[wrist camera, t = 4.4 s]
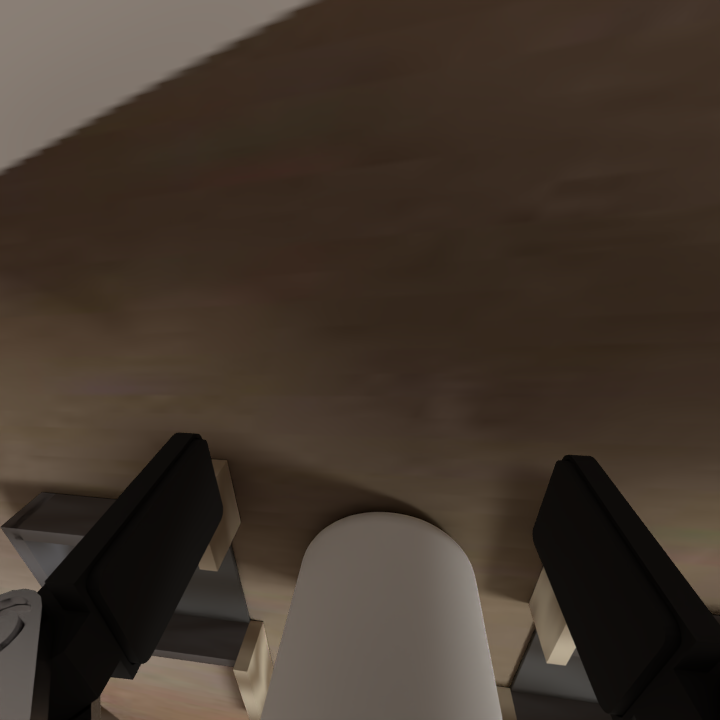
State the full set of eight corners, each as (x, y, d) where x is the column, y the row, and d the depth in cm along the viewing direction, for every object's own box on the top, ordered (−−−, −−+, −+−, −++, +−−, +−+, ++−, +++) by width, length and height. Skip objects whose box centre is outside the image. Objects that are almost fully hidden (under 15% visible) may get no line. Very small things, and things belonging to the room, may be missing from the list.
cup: (288, 503, 20) (197, 759, 11) (467, 495, 18) (532, 793, 9) (326, 604, 24) (282, 848, 15) (473, 606, 22) (522, 883, 13)
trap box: (12, 442, 20) (-47, 482, 17) (870, 513, 16) (964, 578, 13) (159, 698, 35) (139, 741, 32) (622, 769, 31) (643, 824, 28)
